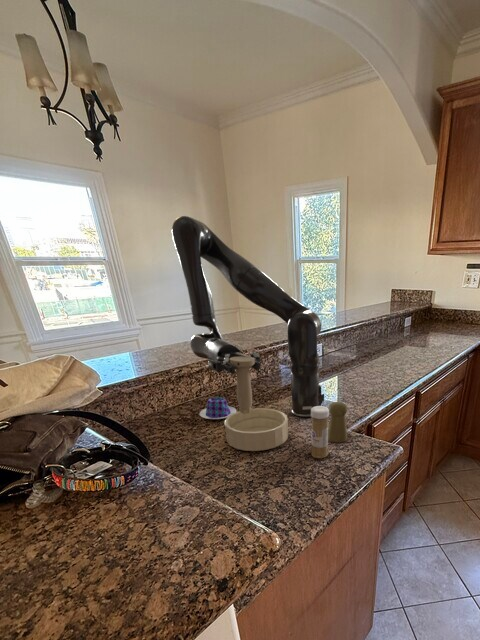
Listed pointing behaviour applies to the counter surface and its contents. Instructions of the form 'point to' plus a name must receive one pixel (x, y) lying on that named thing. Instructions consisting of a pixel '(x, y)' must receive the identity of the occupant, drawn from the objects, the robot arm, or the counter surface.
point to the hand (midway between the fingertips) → (246, 368)
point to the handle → (243, 382)
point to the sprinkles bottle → (319, 431)
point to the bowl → (256, 429)
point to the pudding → (217, 409)
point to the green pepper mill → (337, 422)
